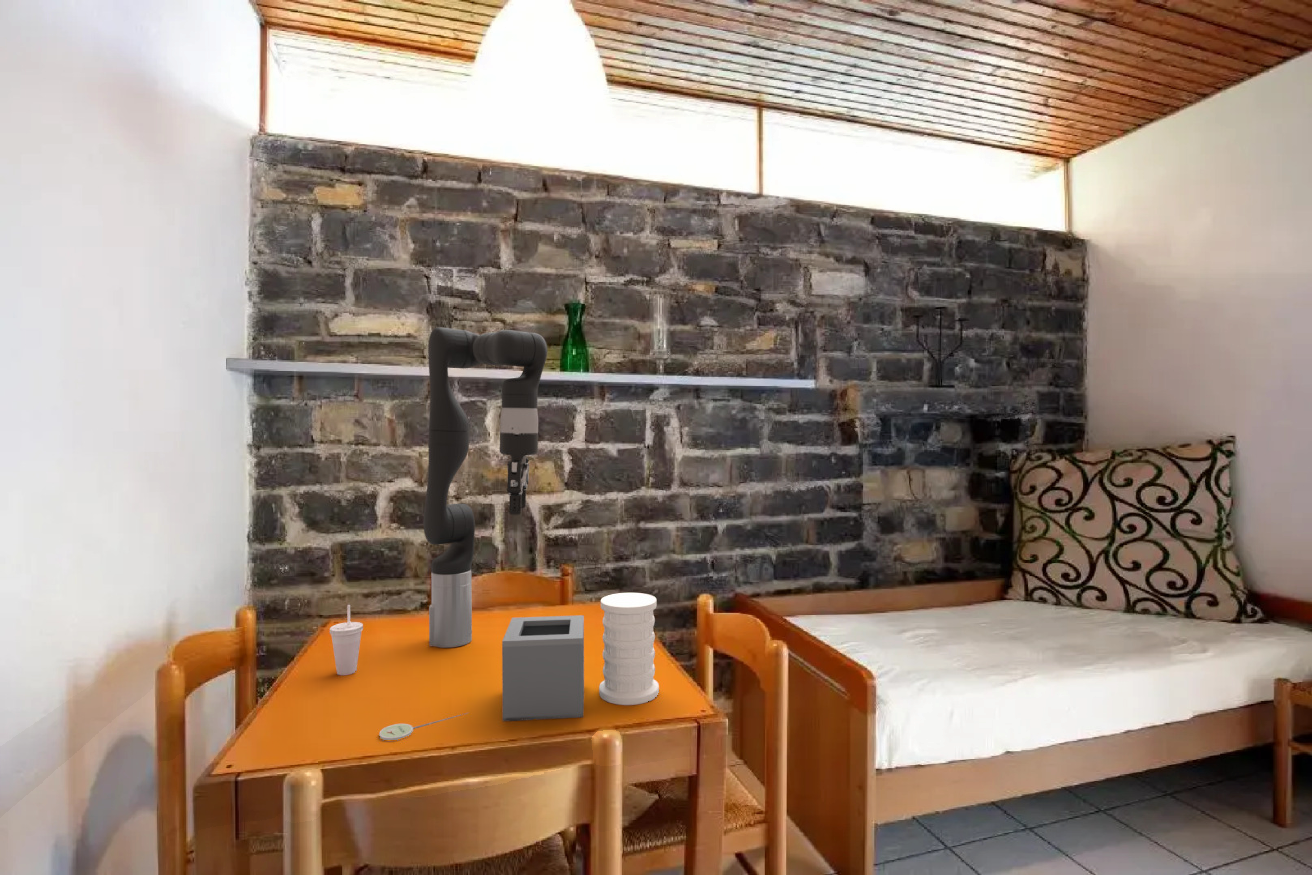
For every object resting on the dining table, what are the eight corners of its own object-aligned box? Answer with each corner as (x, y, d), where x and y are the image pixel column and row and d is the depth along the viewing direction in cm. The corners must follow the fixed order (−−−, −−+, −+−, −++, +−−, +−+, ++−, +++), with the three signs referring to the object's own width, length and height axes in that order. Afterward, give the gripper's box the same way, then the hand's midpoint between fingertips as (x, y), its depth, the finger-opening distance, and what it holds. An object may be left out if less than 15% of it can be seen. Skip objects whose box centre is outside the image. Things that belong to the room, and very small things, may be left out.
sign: (473, 716, 110) (384, 741, 101) (473, 721, 110) (384, 746, 101) (463, 706, 114) (375, 729, 105) (462, 711, 114) (375, 734, 105)
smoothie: (370, 668, 133) (369, 603, 133) (344, 679, 127) (343, 611, 127) (349, 664, 136) (348, 600, 136) (322, 674, 130) (322, 607, 130)
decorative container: (591, 686, 124) (591, 595, 124) (645, 676, 128) (645, 589, 128) (610, 709, 113) (610, 610, 113) (668, 698, 118) (668, 603, 117)
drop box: (502, 721, 108) (502, 641, 108) (512, 688, 122) (512, 617, 122) (583, 717, 110) (583, 638, 110) (583, 685, 124) (583, 615, 124)
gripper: (505, 429, 132) (503, 505, 132) (494, 431, 118) (493, 516, 118) (540, 430, 133) (539, 506, 133) (534, 432, 118) (533, 516, 119)
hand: (517, 510), depth 126 cm, fingers open, 8 cm apart
